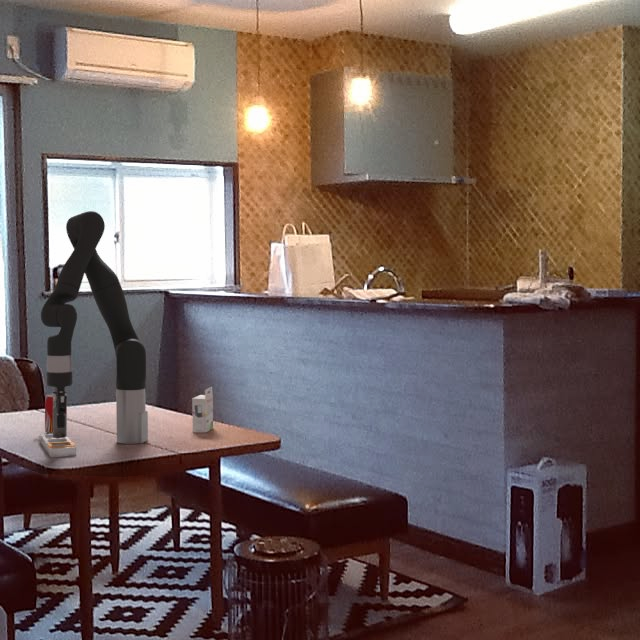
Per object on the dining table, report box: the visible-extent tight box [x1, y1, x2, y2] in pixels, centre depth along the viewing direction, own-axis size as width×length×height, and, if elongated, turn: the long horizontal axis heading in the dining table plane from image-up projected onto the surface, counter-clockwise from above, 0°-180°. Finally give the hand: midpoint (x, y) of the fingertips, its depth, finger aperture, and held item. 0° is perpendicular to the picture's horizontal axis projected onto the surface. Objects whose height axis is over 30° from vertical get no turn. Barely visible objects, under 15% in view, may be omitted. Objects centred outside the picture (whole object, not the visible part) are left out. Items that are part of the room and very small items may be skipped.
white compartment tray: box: [39, 433, 77, 458], centre depth 311 cm, size 26×8×3 cm, turn 22°
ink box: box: [191, 386, 214, 434], centre depth 343 cm, size 9×5×15 cm, turn 168°
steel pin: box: [53, 407, 68, 438], centre depth 303 cm, size 4×4×9 cm
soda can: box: [44, 393, 68, 434], centre depth 337 cm, size 7×7×13 cm
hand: (60, 426), depth 303 cm, fingers closed on steel pin, 4 cm apart
